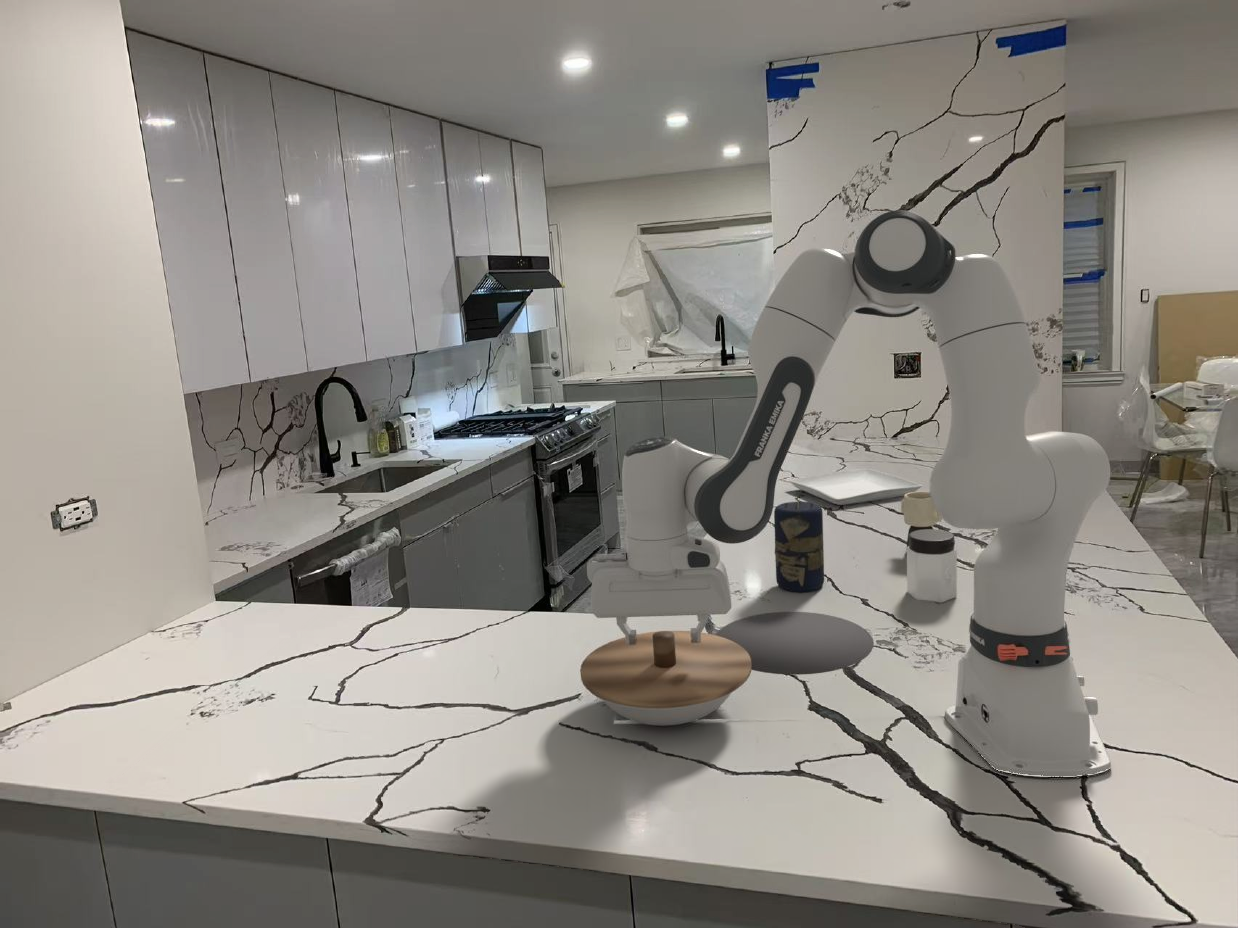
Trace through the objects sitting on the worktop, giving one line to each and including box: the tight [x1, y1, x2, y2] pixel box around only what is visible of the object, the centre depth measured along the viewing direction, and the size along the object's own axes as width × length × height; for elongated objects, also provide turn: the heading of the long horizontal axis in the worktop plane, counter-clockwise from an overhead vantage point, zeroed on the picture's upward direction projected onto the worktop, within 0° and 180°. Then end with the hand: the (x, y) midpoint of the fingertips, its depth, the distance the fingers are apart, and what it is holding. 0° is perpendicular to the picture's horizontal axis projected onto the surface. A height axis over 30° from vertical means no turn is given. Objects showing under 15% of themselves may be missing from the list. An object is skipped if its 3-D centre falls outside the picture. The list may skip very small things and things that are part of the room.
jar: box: [906, 528, 958, 604], centre depth 168 cm, size 9×8×12 cm
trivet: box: [714, 611, 874, 675], centre depth 152 cm, size 27×27×1 cm
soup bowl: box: [592, 690, 736, 727], centre depth 130 cm, size 24×24×7 cm
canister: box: [773, 500, 825, 593], centre depth 177 cm, size 10×10×18 cm
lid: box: [579, 630, 752, 708], centre depth 129 cm, size 25×25×5 cm
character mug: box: [900, 491, 943, 551], centre depth 193 cm, size 11×7×13 cm, turn 30°
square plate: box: [788, 468, 923, 506], centre depth 252 cm, size 27×27×4 cm
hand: (663, 642), depth 129 cm, fingers open, 8 cm apart
